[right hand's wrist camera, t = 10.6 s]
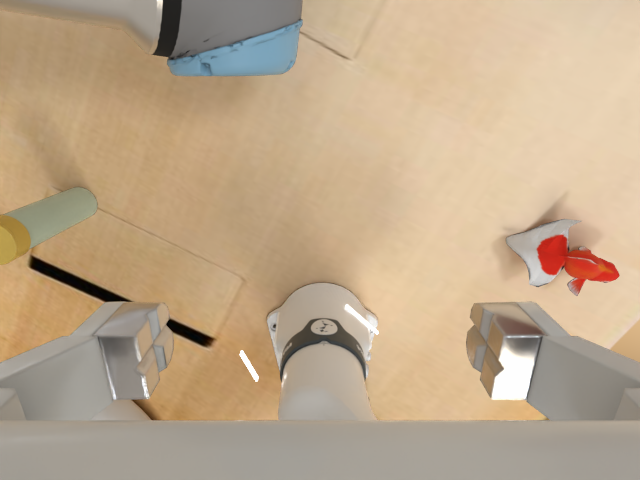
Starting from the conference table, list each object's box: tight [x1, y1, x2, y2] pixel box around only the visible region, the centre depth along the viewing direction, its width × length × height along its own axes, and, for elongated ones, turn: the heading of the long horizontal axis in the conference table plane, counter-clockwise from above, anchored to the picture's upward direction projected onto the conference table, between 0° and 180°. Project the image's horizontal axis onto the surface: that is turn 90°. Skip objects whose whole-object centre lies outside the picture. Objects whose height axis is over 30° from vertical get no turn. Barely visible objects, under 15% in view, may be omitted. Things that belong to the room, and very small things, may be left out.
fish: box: [506, 219, 619, 296], centre depth 57 cm, size 11×16×10 cm
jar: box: [3, 187, 97, 249], centre depth 50 cm, size 5×5×16 cm
